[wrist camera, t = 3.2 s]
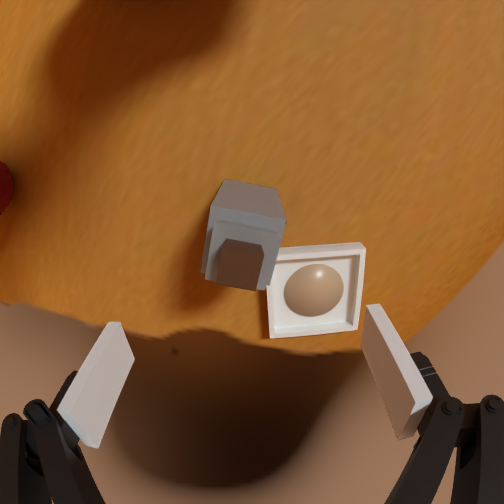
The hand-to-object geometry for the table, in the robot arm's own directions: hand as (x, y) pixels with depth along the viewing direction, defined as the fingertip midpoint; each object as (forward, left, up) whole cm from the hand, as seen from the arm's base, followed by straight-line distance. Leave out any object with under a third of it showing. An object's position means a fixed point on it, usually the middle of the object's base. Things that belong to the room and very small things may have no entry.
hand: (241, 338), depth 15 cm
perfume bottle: (0, 0, -27) cm, 27 cm away
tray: (+9, -13, -27) cm, 31 cm away
